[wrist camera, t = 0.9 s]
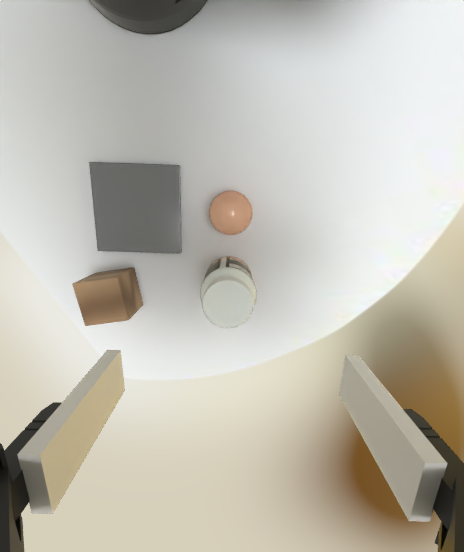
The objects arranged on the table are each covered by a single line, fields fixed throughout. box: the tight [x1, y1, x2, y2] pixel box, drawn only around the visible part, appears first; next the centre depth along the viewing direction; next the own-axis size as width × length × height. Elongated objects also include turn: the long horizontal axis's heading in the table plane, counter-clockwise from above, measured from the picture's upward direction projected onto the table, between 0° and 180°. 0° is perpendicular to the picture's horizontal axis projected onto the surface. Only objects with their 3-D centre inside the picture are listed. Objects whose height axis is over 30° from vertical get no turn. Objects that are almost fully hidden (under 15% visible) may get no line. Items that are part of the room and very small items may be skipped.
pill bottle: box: [200, 257, 256, 328], centre depth 29 cm, size 6×6×10 cm
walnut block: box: [73, 268, 143, 326], centre depth 31 cm, size 5×5×5 cm
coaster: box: [89, 162, 181, 253], centre depth 31 cm, size 10×10×1 cm
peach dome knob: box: [209, 191, 252, 235], centre depth 29 cm, size 4×4×4 cm
